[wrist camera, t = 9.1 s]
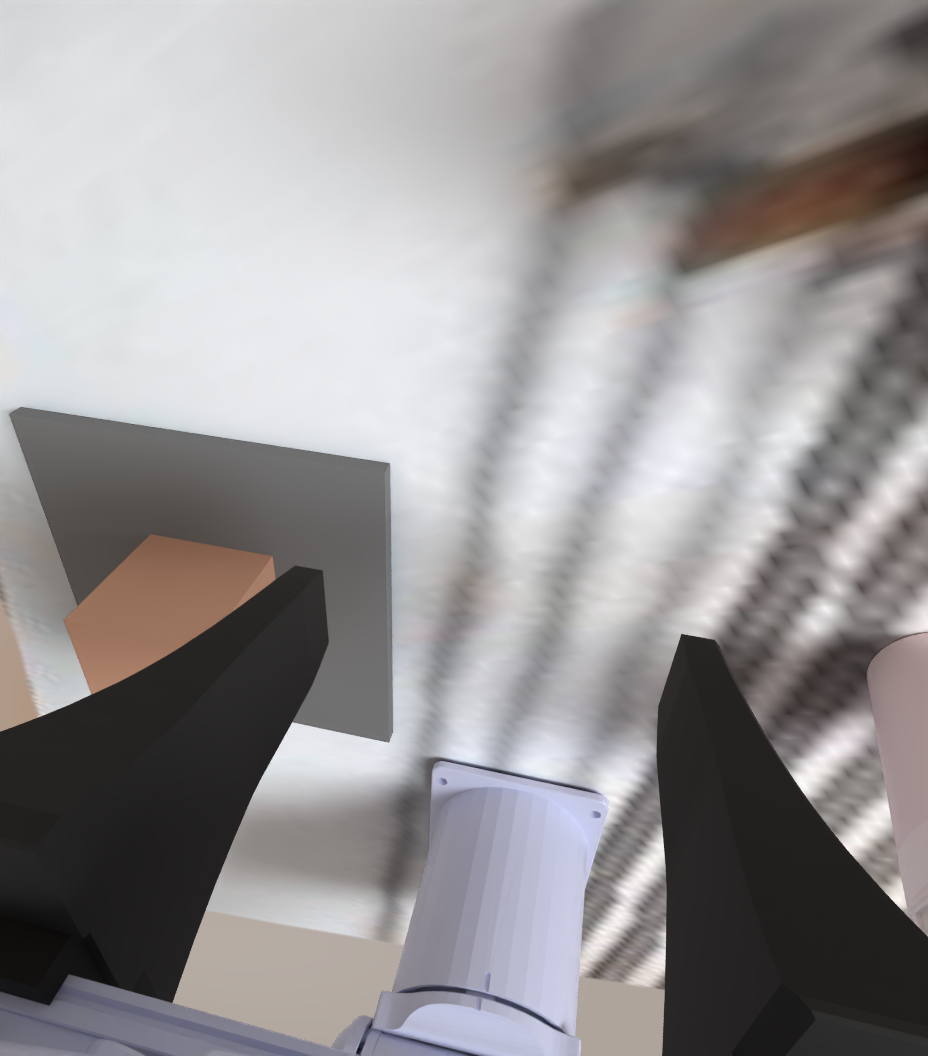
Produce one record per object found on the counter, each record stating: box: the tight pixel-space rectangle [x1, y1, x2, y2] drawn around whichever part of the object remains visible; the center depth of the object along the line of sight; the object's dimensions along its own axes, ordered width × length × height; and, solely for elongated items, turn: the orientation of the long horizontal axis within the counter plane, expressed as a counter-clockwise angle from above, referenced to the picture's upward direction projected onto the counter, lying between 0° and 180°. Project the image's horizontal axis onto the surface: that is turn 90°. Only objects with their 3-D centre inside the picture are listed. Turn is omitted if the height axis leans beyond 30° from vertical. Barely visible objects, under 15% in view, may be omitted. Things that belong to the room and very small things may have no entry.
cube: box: [64, 534, 276, 694], centre depth 26 cm, size 5×5×5 cm
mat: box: [9, 407, 393, 742], centre depth 28 cm, size 14×14×1 cm
